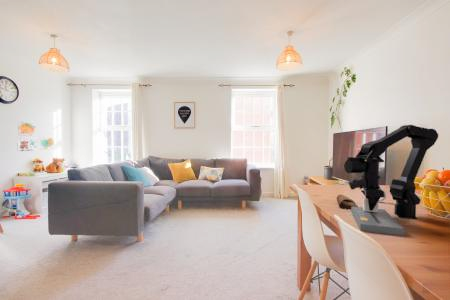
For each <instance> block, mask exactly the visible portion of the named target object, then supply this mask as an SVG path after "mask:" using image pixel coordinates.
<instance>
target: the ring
mask: <svg viewBox="0 0 450 300" xmlns="http://www.w3.org/2000/svg"><path fill="white" fill-rule="evenodd" d="M380 189H381V190H382V191H383V192H384V197H382V199H379V201H378V203H380V202H383V201H385V200H386V198H387V194H386V191H385V190H384V189H382V187H380Z"/></svg>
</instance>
